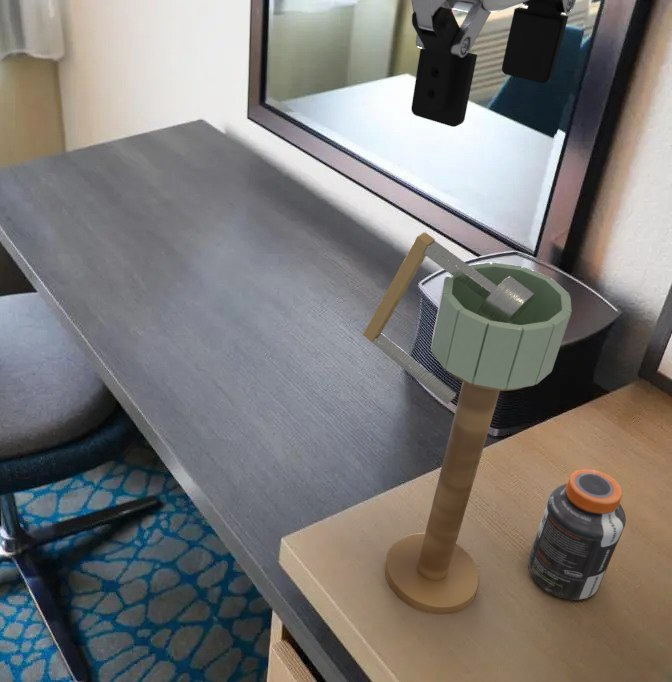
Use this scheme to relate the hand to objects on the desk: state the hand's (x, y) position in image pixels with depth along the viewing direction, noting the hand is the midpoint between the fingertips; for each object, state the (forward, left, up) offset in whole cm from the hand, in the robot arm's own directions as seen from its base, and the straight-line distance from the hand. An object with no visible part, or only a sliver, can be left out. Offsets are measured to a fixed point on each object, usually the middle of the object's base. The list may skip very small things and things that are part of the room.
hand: (483, 97), depth 48 cm
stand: (-5, 0, -43) cm, 44 cm away
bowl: (-5, 0, -17) cm, 18 cm away
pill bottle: (-12, -9, -43) cm, 46 cm away
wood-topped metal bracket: (-4, 0, -18) cm, 18 cm away
